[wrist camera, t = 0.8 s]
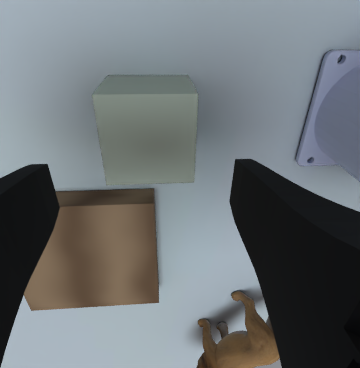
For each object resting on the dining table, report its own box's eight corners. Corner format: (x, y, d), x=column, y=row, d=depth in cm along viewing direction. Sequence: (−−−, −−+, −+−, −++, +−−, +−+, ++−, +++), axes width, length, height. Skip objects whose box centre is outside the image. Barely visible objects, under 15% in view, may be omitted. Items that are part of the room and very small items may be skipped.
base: (153, 188, 21) (153, 203, 19) (158, 285, 28) (158, 302, 26) (-4, 193, 20) (-18, 209, 19) (39, 292, 27) (31, 310, 25)
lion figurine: (214, 344, 35) (231, 435, 27) (180, 336, 33) (187, 430, 26) (290, 278, 29) (338, 371, 21) (252, 263, 27) (290, 360, 19)
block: (187, 74, 17) (198, 93, 13) (185, 146, 20) (194, 182, 15) (108, 74, 17) (91, 94, 12) (117, 148, 19) (106, 185, 15)
